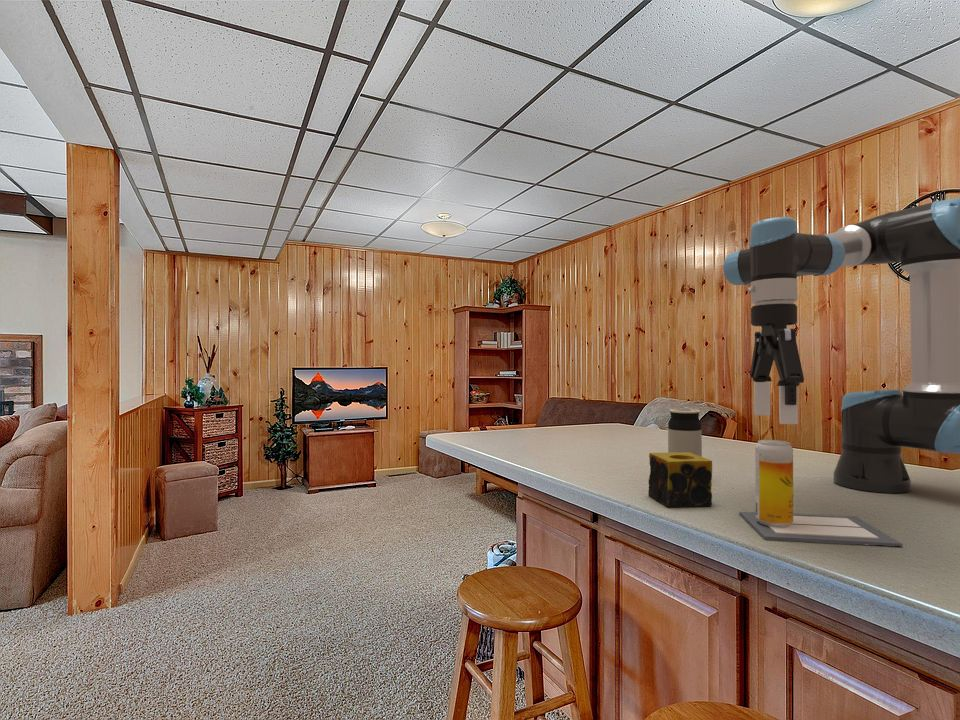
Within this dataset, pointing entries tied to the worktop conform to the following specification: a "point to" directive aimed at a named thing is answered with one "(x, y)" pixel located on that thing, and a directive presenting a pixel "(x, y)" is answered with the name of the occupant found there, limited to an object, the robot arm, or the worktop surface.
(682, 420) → the travel mug
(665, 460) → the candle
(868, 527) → the blotter
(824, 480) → the worktop surface
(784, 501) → the beer can
